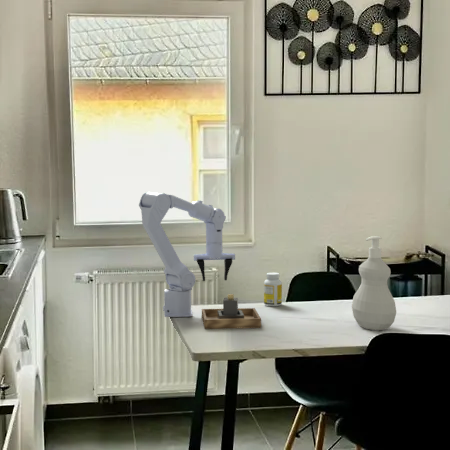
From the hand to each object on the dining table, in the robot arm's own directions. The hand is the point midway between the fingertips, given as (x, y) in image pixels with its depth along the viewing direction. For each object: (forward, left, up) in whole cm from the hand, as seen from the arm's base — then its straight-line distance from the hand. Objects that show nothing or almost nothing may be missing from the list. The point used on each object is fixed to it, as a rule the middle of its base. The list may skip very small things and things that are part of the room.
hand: (214, 280), depth 279 cm
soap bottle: (+49, -31, -11) cm, 59 cm away
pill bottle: (+22, +6, -11) cm, 25 cm away
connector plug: (+4, -21, -10) cm, 23 cm away
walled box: (+4, -21, -10) cm, 24 cm away
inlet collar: (+4, -21, -10) cm, 24 cm away
